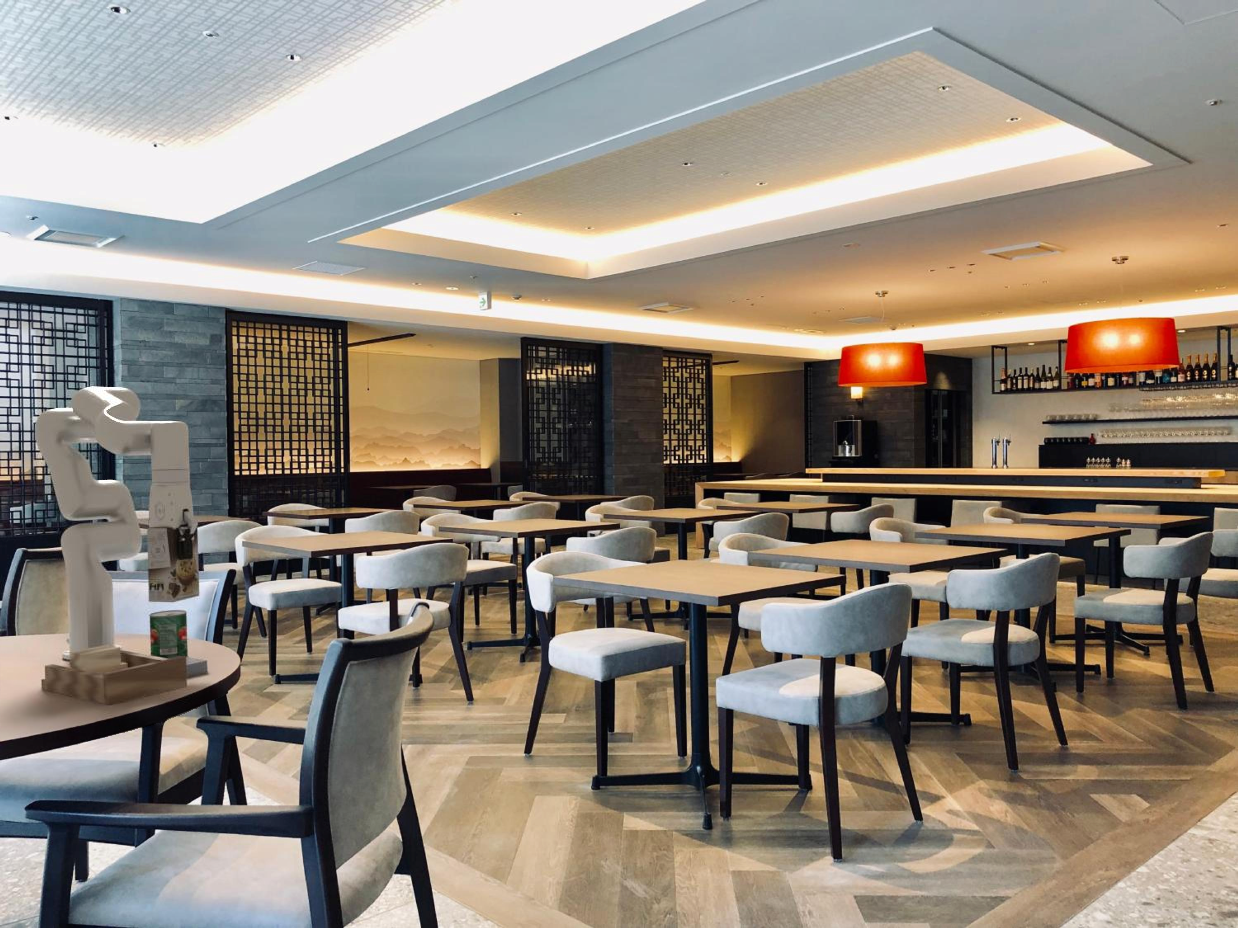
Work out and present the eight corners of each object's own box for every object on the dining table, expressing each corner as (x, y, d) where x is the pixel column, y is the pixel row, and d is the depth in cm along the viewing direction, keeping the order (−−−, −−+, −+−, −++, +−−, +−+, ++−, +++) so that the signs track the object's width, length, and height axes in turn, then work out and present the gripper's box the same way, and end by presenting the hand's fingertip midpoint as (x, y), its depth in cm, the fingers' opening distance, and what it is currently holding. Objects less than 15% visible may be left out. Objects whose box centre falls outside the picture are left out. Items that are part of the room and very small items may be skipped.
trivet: (146, 674, 211) (146, 662, 211) (180, 666, 218) (180, 655, 218) (173, 679, 206) (173, 667, 206) (207, 671, 213) (207, 660, 213)
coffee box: (174, 602, 207) (171, 527, 206) (147, 602, 208) (145, 527, 207) (201, 595, 215) (198, 523, 215) (175, 595, 217) (173, 523, 216)
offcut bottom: (65, 688, 202) (64, 669, 202) (112, 678, 210) (112, 659, 210) (80, 692, 198) (79, 672, 198) (128, 681, 207) (127, 663, 207)
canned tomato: (144, 660, 225) (143, 613, 225) (178, 654, 231) (177, 608, 231) (159, 665, 220) (158, 617, 220) (194, 659, 226) (192, 612, 226)
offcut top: (70, 668, 202) (69, 651, 202) (108, 660, 209) (108, 644, 209) (82, 671, 199) (81, 654, 199) (120, 663, 206) (120, 647, 206)
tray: (41, 688, 200) (40, 659, 200) (119, 671, 214) (118, 644, 214) (108, 705, 187) (107, 674, 186) (187, 685, 200) (186, 657, 200)
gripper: (131, 478, 213) (134, 558, 213) (178, 479, 203) (181, 562, 204) (163, 477, 219) (166, 554, 219) (210, 477, 209) (213, 558, 210)
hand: (173, 557), depth 211 cm, fingers closed on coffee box, 8 cm apart
